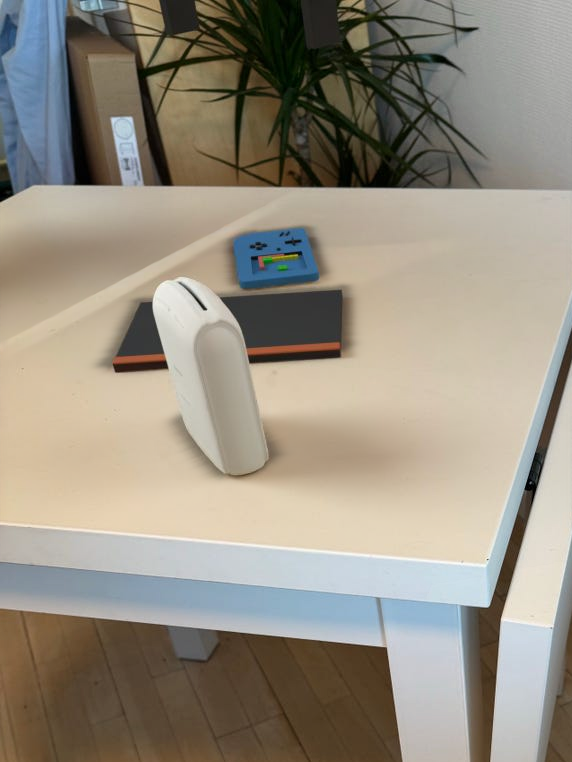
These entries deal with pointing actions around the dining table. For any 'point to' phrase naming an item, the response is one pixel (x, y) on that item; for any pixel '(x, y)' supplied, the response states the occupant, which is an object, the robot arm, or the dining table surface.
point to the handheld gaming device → (274, 259)
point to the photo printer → (211, 375)
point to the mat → (252, 329)
